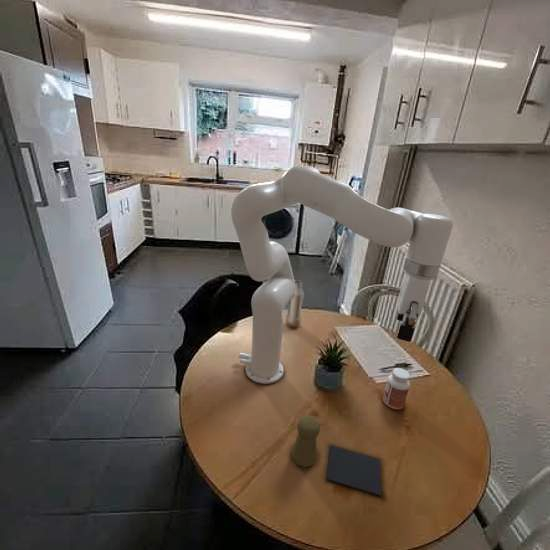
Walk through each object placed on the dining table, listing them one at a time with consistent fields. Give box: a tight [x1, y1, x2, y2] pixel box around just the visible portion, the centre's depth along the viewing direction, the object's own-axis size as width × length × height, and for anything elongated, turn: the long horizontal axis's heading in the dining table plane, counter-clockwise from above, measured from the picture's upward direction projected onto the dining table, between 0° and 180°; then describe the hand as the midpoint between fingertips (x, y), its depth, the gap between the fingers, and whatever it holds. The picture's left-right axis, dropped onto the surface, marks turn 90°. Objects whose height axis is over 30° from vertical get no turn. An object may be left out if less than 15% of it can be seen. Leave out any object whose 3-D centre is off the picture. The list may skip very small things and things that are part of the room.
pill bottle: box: [382, 367, 411, 410], centre depth 92 cm, size 6×6×11 cm
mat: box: [326, 445, 382, 497], centre depth 73 cm, size 12×9×1 cm
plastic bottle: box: [285, 279, 305, 328], centre depth 127 cm, size 6×7×20 cm
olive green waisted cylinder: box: [291, 415, 321, 468], centre depth 74 cm, size 6×6×11 cm
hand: (403, 329), depth 79 cm, fingers open, 9 cm apart
